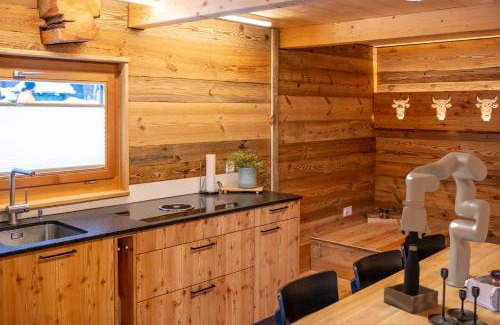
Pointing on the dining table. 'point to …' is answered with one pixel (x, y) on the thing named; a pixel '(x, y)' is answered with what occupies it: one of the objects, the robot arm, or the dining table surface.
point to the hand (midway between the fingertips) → (413, 246)
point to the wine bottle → (412, 268)
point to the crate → (410, 298)
